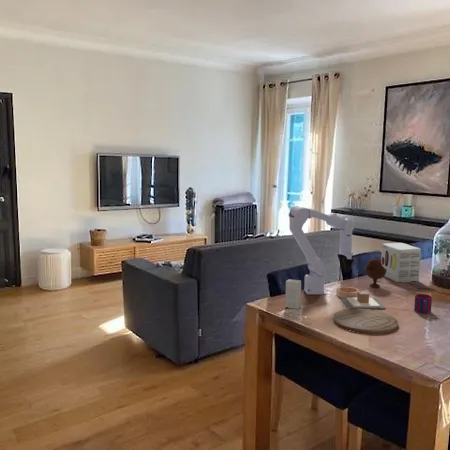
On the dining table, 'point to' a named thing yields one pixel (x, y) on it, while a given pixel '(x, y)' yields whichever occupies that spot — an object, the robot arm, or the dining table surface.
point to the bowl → (347, 292)
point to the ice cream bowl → (375, 271)
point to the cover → (363, 300)
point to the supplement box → (401, 261)
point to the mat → (361, 307)
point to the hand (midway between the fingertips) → (345, 270)
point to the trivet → (365, 321)
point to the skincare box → (293, 294)
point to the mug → (423, 303)
